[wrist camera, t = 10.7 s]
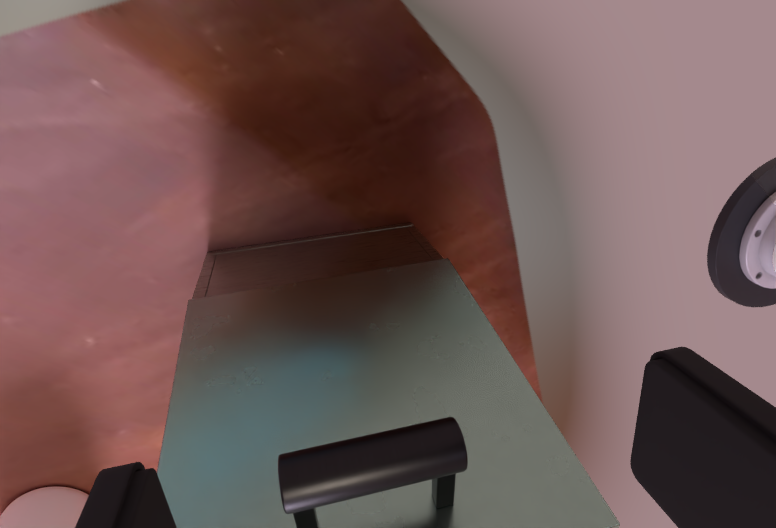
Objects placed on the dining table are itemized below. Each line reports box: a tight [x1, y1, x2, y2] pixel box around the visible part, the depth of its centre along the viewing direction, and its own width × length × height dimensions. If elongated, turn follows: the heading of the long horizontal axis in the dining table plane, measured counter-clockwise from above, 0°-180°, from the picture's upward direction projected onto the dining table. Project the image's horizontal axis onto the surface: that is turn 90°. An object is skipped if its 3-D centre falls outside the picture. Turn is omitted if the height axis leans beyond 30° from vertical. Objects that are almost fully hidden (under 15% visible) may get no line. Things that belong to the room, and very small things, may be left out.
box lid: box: [157, 258, 620, 528], centre depth 22 cm, size 18×17×5 cm
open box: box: [192, 223, 444, 299], centre depth 39 cm, size 18×17×9 cm
